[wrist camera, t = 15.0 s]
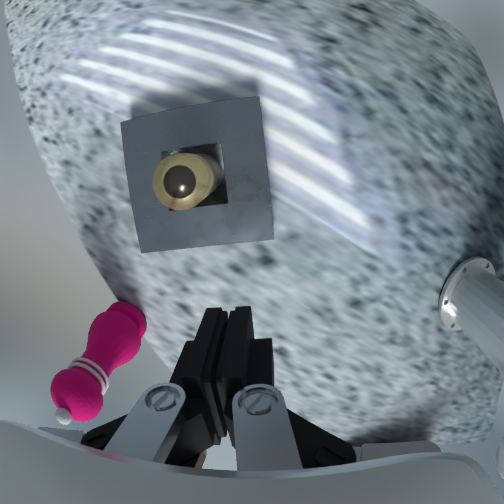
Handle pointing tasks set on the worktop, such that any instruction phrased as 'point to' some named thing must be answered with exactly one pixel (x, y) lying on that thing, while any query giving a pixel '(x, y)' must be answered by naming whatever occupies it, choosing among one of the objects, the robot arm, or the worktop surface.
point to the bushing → (185, 179)
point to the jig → (235, 166)
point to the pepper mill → (98, 362)
